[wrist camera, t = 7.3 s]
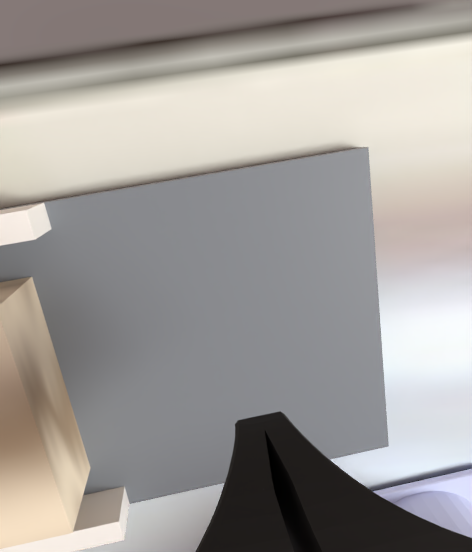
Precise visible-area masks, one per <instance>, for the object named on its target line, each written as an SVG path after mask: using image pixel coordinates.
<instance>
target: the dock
mask: <svg viewBox="0 0 472 552" xmlns="http://www.w3.org/2000/svg"><path fill="white" fill-rule="evenodd" d="M49 230H51V225H50V222H49V218H48V215H47V211H46V208H45V204H44V203H40V204H34V205H28V206H22V207H16V208H10V209H4V210H0V246H1V245H7V244H13V243H18V242H24V241H30V240H35V239H37V238H38V237H40V236H42V235H43V234H45V233H46V232H48V231H49ZM128 511H129V500H128V497H127V493H126V490H125V486H124V487H119V488H115V489H110V490H106V491H101V492H96V493H92V494H87V495H83V497H82V501H81V505H80V508H79V512H78V515H77V519H76V523H75V526H74V530H73V533H70V534H65V535H61V536H56V537H52V538H48V539H43V540H39V541H34V542H30V543H25V544H21V545H16V546H12V547H7V548H3V549H0V552H75V551H79V550H84V549H88V548H92V547H97V546H101V545H106V544H110V543H114V542H119V541H123V540H125V533H126V526H127V519H128Z"/></svg>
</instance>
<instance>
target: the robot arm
mask: <svg viewBox="0 0 472 552" xmlns="http://www.w3.org/2000/svg"><path fill="white" fill-rule="evenodd" d="M196 552H472V469H468V470H464V471H459V472H455V473H451V474H446V475H442V476H438V477H433V478H429V479H425V480H420V481H416V482H412V483H407V484H403V485H398V486H394V487H390V488H385V489H381V490H377V491H371V490H369V489H368V488H366V487H365V486H363V485H362V484H361V483H359V482H358V481H356V480H355V479H353V478H352V477H351V476H349V475H348V474H347V473H345V472H344V471H343V470H342V469H340V468H339V467H338V466H337V465H335V464H334V463H333V462H332V461H331V460H329V459H328V458H327V457H326V456H325V455H324V454H322V453H321V452H320V451H319V450H318V449H317V448H316V447H315V446H314V445H313V444H312V443H311V442H310V441H309V440H308V439H307V438H306V437H305V436H304V435H303V434H302V433H301V432H300V431H299V430H298V429H297V428H296V427H295V426H294V425H293V424H292V422H291V421H290V420H289V419H288V418H287V416H286V415H285V414H284V413H282V412H281V411H279V412H275V413H270V414H265V415H260V416H256V417H251V418H246V419H241V420H238V421H237V422H236V424H235V441H234V448H233V453H232V458H231V462H230V467H229V471H228V474H227V478H226V481H225V484H224V487H223V490H222V494H221V497H220V499H219V502H218V505H217V507H216V510H215V512H214V515H213V517H212V519H211V522H210V524H209V526H208V528H207V530H206V532H205V534H204V536H203V538H202V540H201V542H200V544H199V546H198V548H197V550H196Z"/></svg>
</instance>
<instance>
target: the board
mask: <svg viewBox="0 0 472 552" xmlns="http://www.w3.org/2000/svg"><path fill="white" fill-rule="evenodd" d="M40 203H44V204H45V208H46V211H47V215H48V218H49V222H50V225H51V230H49V231H48V232H46V233H45V234H43V235H42V236H40V237H38V238H37V239H35V240H30V241H24V242H18V243H13V244H7V245H1V246H0V282H5V281H11V280H16V279H22V278H27V277H32V278H33V282H34V285H35V288H36V292H37V295H38V298H39V301H40V305H41V308H42V311H43V314H44V318H45V321H46V324H47V327H48V331H49V334H50V337H51V340H52V344H53V347H54V350H55V354H56V357H57V360H58V363H59V367H60V370H61V373H62V376H63V380H64V383H65V386H66V389H67V393H68V396H69V399H70V403H71V406H72V409H73V412H74V416H75V419H76V422H77V425H78V429H79V432H80V435H81V438H82V442H83V445H84V448H85V451H86V455H87V458H88V461H89V465H90V472H89V475H88V479H87V483H86V486H85V490H84V494H83V495H87V494H92V493H96V492H101V491H106V490H110V489H115V488H119V487H124V486H125V490H126V493H127V497H128V500H129V504H131V503H135V502H140V501H144V500H149V499H153V498H158V497H162V496H167V495H171V494H176V493H180V492H185V491H189V490H194V489H198V488H203V487H207V486H212V485H216V484H221V483H225V481H226V478H227V474H228V471H229V467H230V462H231V458H232V453H233V448H234V441H235V424H236V422H237V421H238V420H241V419H246V418H251V417H256V416H260V415H265V414H270V413H275V412H279V411H281V412H282V413H284V414H285V415H286V416H287V418H288V419H289V420H290V421H291V422H292V424H293V425H294V426H295V427H296V428H297V429H298V430H299V431H300V432H301V433H302V434H303V435H304V436H305V437H306V438H307V439H308V440H309V441H310V442H311V443H312V444H313V445H314V446H315V447H316V448H317V449H318V450H319V451H320V452H321V453H322V454H324V455H325V456H326V457H327V458H328V459H333V458H338V457H342V456H347V455H351V454H356V453H360V452H365V451H369V450H374V449H378V448H383V447H387V446H388V431H387V416H386V402H385V387H384V372H383V358H382V343H381V328H380V313H379V299H378V284H377V269H376V255H375V240H374V225H373V211H372V196H371V181H370V166H369V152H368V147H360V148H354V149H348V150H342V151H336V152H330V153H324V154H319V155H313V156H307V157H301V158H295V159H289V160H283V161H277V162H272V163H266V164H260V165H254V166H248V167H242V168H236V169H231V170H225V171H219V172H213V173H207V174H201V175H195V176H190V177H184V178H178V179H172V180H166V181H160V182H154V183H148V184H143V185H137V186H131V187H125V188H119V189H113V190H107V191H102V192H96V193H90V194H84V195H78V196H72V197H66V198H61V199H55V200H49V201H43V202H37V203H31V204H25V205H19V206H14V207H8V208H2V209H0V210H4V209H10V208H16V207H22V206H28V205H34V204H40Z"/></svg>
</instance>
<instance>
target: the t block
mask: <svg viewBox="0 0 472 552" xmlns="http://www.w3.org/2000/svg"><path fill="white" fill-rule="evenodd" d="M89 472H90V465H89V461H88V458H87V455H86V451H85V448H84V445H83V442H82V438H81V435H80V432H79V429H78V425H77V422H76V419H75V416H74V412H73V409H72V406H71V403H70V399H69V396H68V393H67V389H66V386H65V383H64V380H63V376H62V373H61V370H60V367H59V363H58V360H57V357H56V354H55V350H54V347H53V344H52V340H51V337H50V334H49V331H48V327H47V324H46V321H45V318H44V314H43V311H42V308H41V305H40V301H39V298H38V295H37V292H36V288H35V285H34V282H33V278H32V277H27V278H22V279H16V280H11V281H5V282H0V549H3V548H7V547H12V546H16V545H21V544H25V543H30V542H34V541H39V540H43V539H48V538H52V537H56V536H61V535H65V534H70V533H73V530H74V526H75V523H76V519H77V515H78V512H79V508H80V505H81V501H82V497H83V494H84V490H85V486H86V483H87V479H88V475H89Z"/></svg>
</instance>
